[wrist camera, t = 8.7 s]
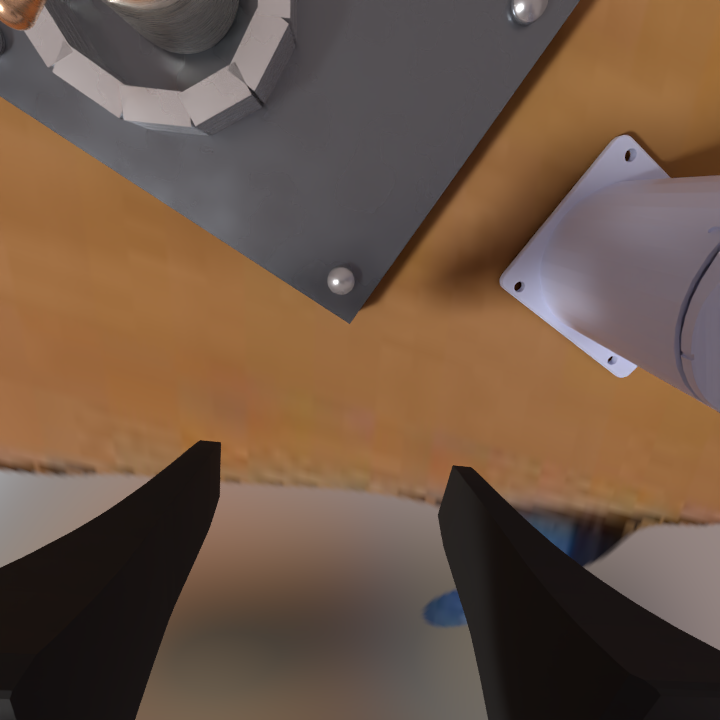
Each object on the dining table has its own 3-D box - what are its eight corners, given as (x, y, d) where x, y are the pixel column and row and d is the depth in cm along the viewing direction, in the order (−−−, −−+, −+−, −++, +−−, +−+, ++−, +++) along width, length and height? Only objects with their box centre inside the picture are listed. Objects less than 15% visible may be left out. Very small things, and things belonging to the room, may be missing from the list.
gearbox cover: (562, 11, 15) (622, -39, 12) (348, 314, 20) (350, 337, 16) (116, -477, 11) (19, -771, 7) (-34, 62, 15) (-137, 26, 12)
